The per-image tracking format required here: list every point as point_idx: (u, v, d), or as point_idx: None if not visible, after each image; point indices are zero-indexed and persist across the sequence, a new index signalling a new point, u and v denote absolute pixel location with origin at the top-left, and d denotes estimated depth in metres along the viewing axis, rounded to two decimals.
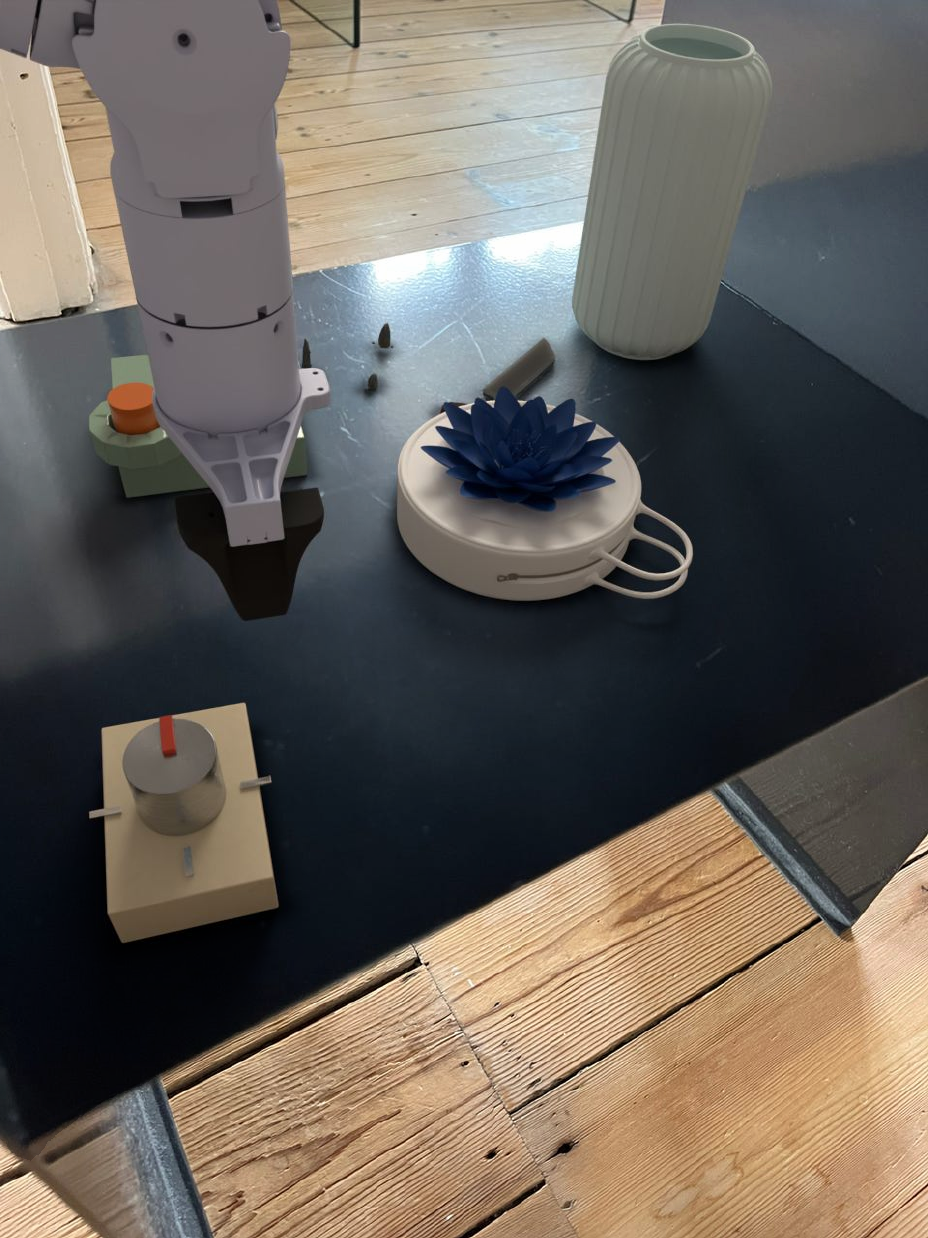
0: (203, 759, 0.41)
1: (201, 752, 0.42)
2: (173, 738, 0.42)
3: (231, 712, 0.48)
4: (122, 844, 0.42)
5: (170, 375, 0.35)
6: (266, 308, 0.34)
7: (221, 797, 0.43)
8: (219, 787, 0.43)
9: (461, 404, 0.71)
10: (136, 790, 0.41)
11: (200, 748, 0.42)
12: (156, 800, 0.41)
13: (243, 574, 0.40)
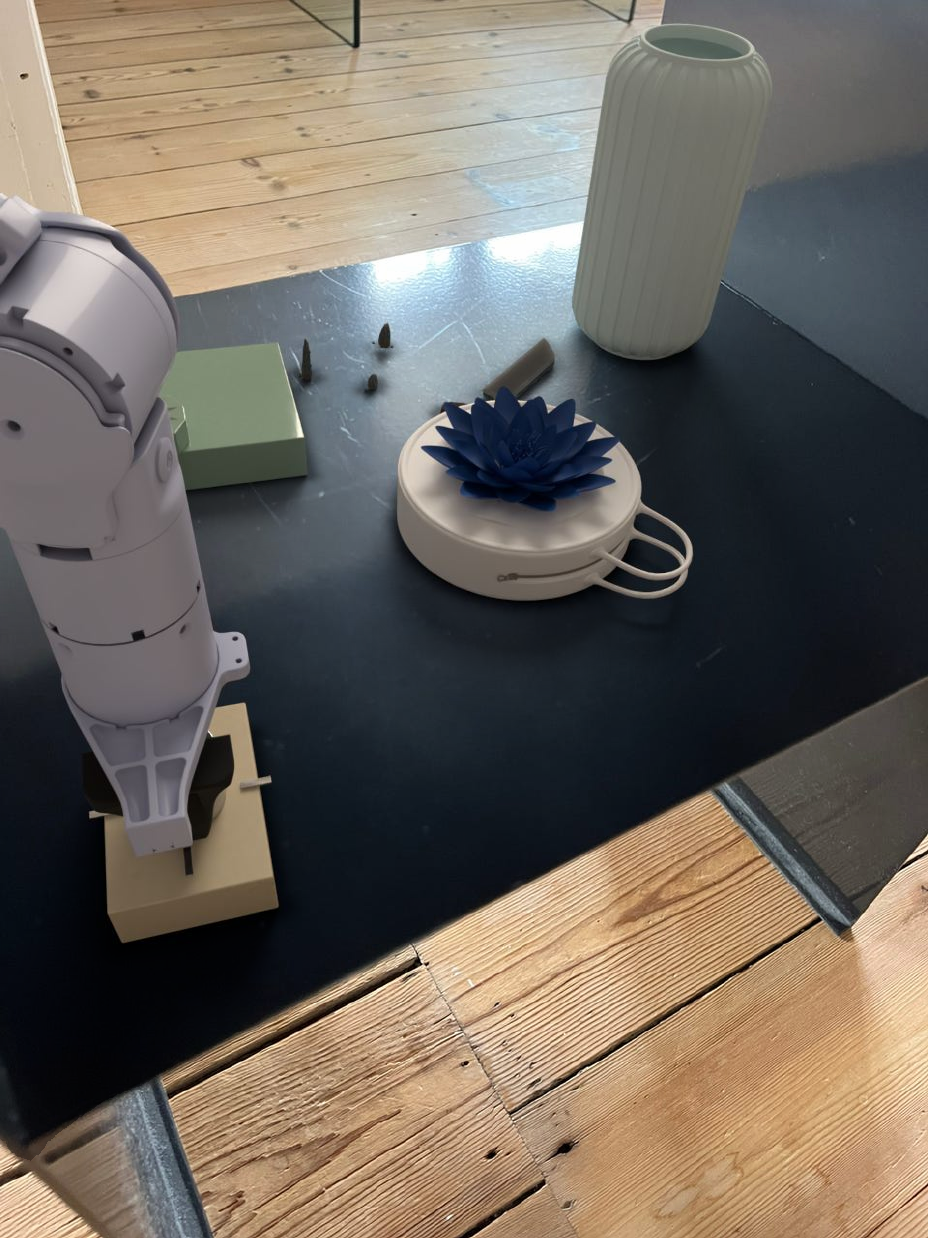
0: None
1: None
2: None
3: (231, 712, 0.48)
4: (122, 844, 0.42)
5: (73, 676, 0.34)
6: (144, 631, 0.32)
7: (221, 797, 0.43)
8: None
9: (461, 404, 0.71)
10: None
11: None
12: None
13: None
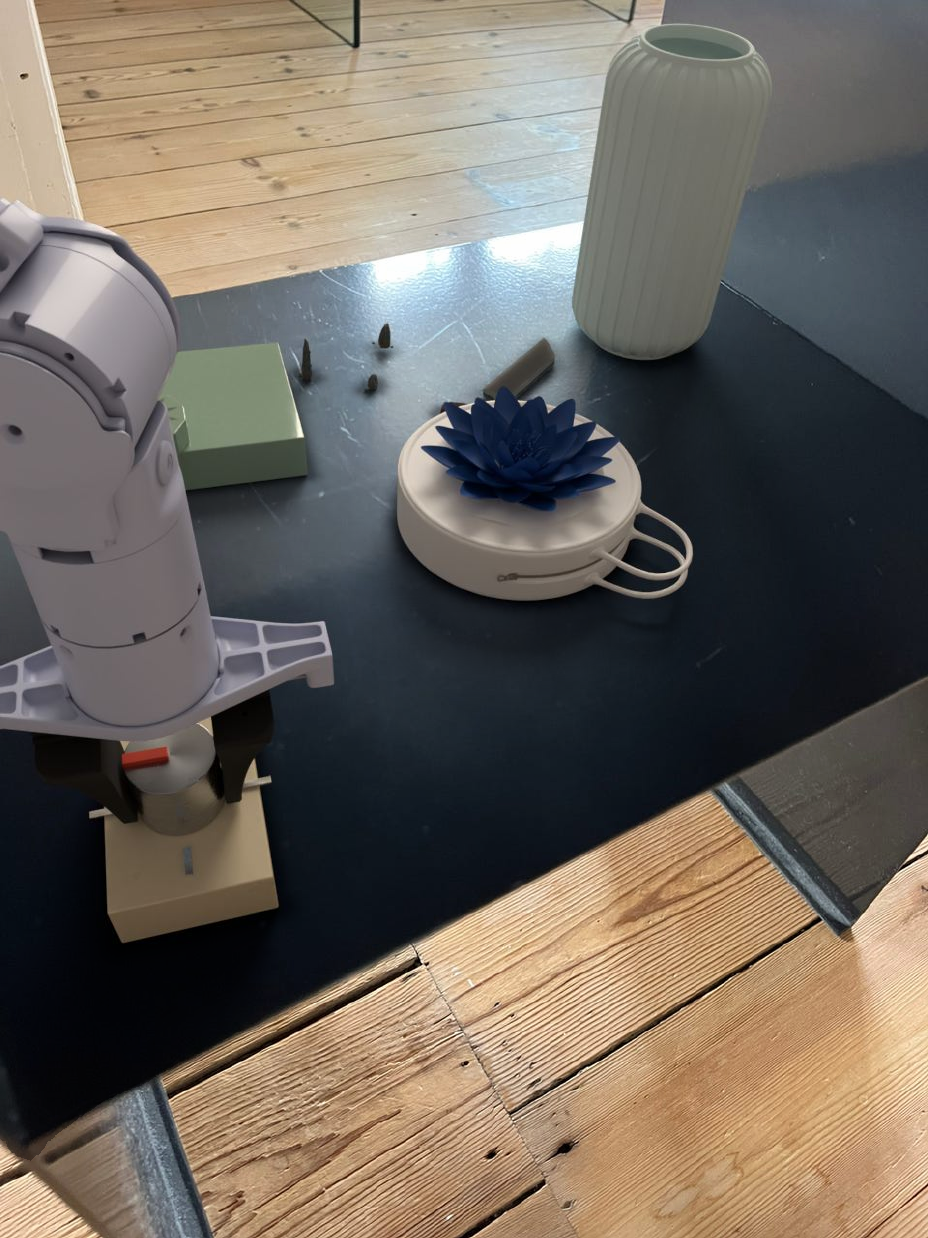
0: None
1: None
2: (153, 749, 0.41)
3: None
4: (122, 844, 0.42)
5: (189, 664, 0.35)
6: (145, 634, 0.32)
7: None
8: None
9: (461, 404, 0.71)
10: (203, 782, 0.41)
11: None
12: (215, 769, 0.42)
13: None
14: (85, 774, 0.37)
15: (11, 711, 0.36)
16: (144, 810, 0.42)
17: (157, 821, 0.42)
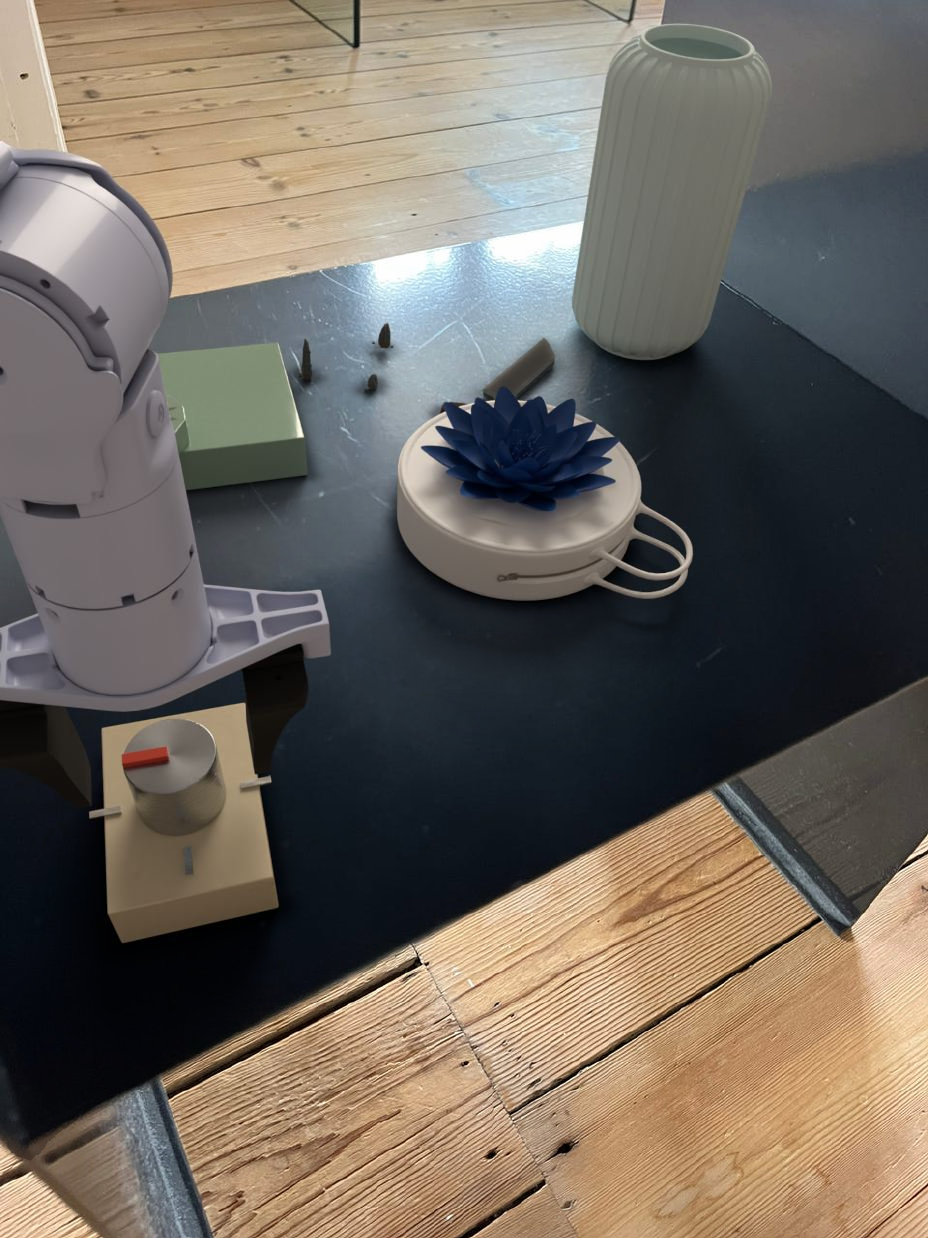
0: (181, 727, 0.43)
1: (172, 729, 0.42)
2: (153, 749, 0.41)
3: (231, 712, 0.48)
4: (122, 844, 0.42)
5: (181, 630, 0.33)
6: (134, 596, 0.31)
7: None
8: None
9: (461, 404, 0.71)
10: (203, 782, 0.41)
11: (167, 730, 0.42)
12: (215, 769, 0.42)
13: None
14: (29, 754, 0.35)
15: None
16: (144, 810, 0.42)
17: (157, 821, 0.42)
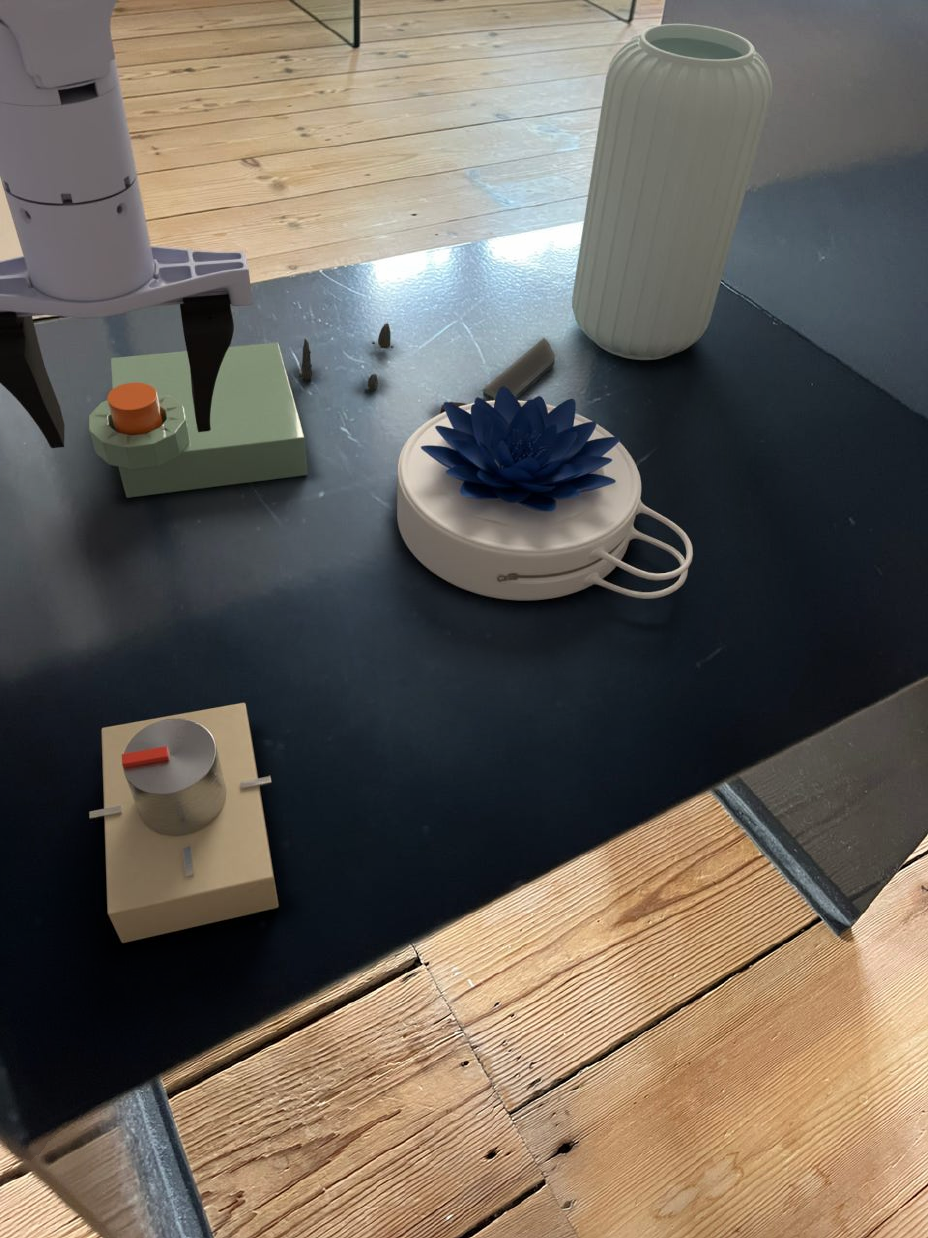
0: (181, 727, 0.43)
1: (172, 729, 0.42)
2: (153, 749, 0.41)
3: (231, 712, 0.48)
4: (122, 844, 0.42)
5: (126, 245, 0.43)
6: (128, 178, 0.42)
7: None
8: None
9: (461, 404, 0.71)
10: (203, 782, 0.41)
11: (167, 730, 0.42)
12: (215, 769, 0.42)
13: None
14: (10, 356, 0.45)
15: None
16: (144, 810, 0.42)
17: (157, 821, 0.42)
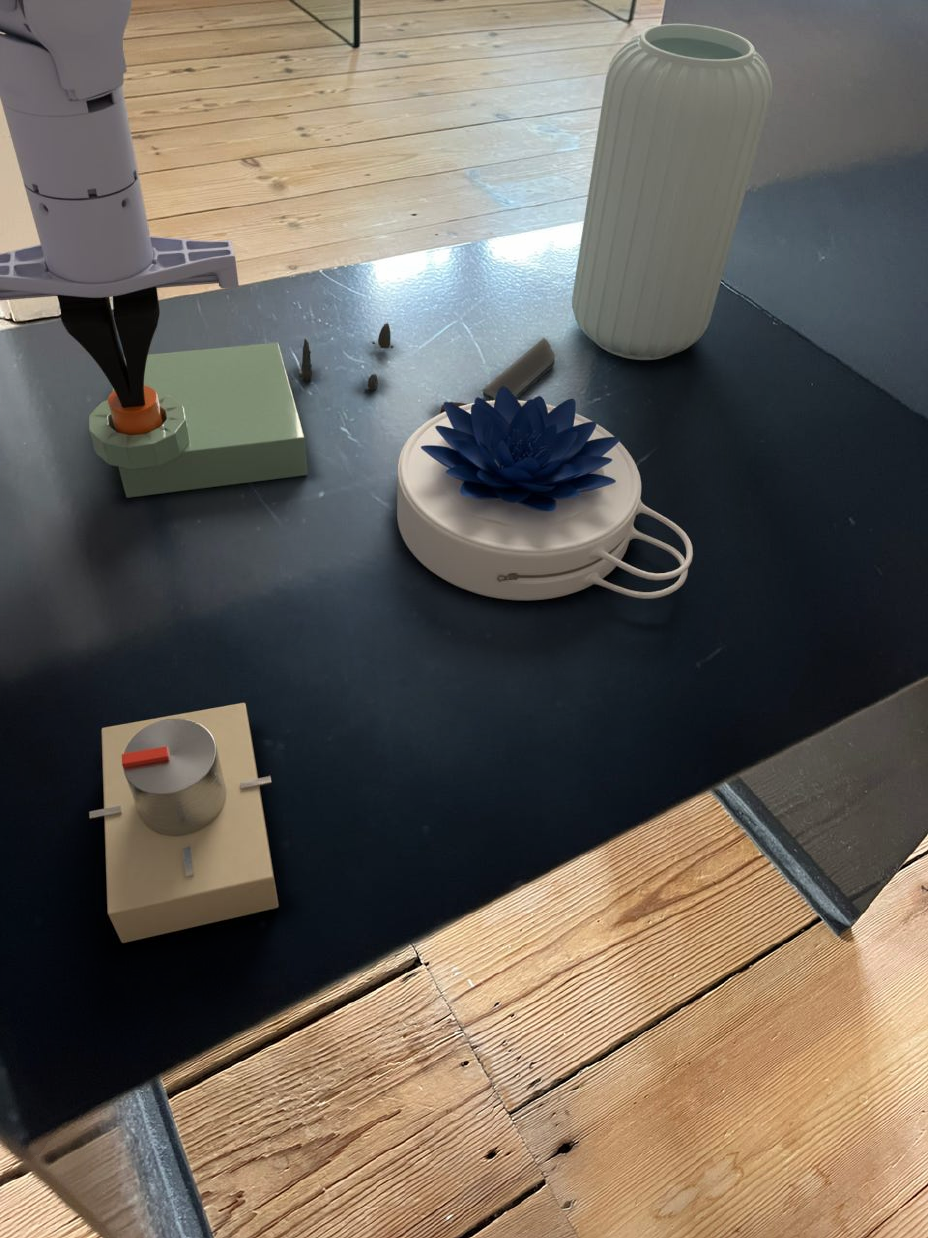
0: (181, 727, 0.43)
1: (172, 729, 0.42)
2: (153, 749, 0.41)
3: (231, 712, 0.48)
4: (122, 844, 0.42)
5: (130, 234, 0.50)
6: (135, 172, 0.49)
7: None
8: None
9: (461, 404, 0.71)
10: (203, 782, 0.41)
11: (167, 730, 0.42)
12: (215, 769, 0.42)
13: None
14: (97, 324, 0.52)
15: None
16: (144, 810, 0.42)
17: (157, 821, 0.42)
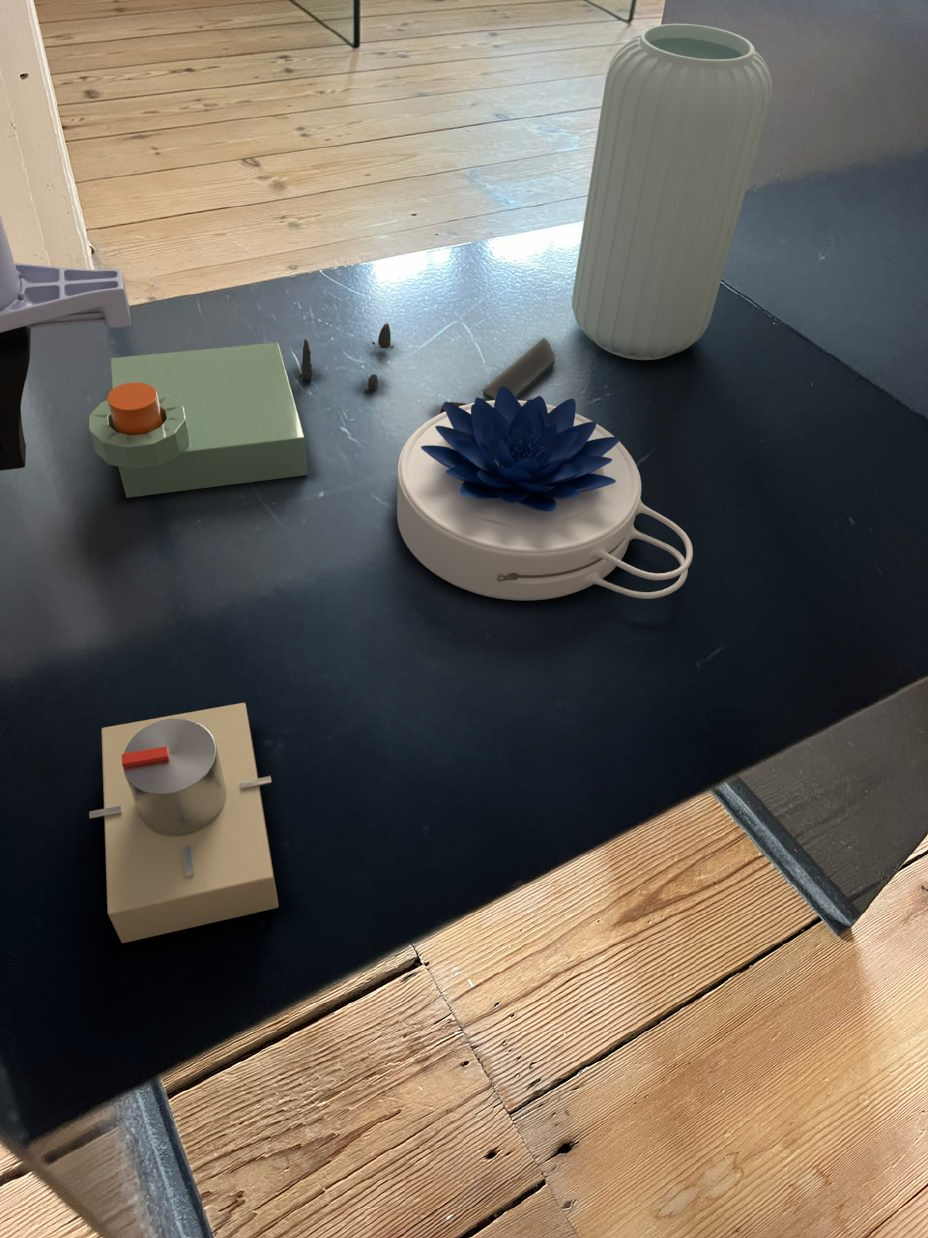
0: (181, 727, 0.43)
1: (172, 729, 0.42)
2: (153, 749, 0.41)
3: (231, 712, 0.48)
4: (122, 844, 0.42)
5: None
6: None
7: None
8: None
9: (461, 404, 0.71)
10: (203, 782, 0.41)
11: (167, 730, 0.42)
12: (215, 769, 0.42)
13: None
14: None
15: None
16: (144, 810, 0.42)
17: (157, 821, 0.42)
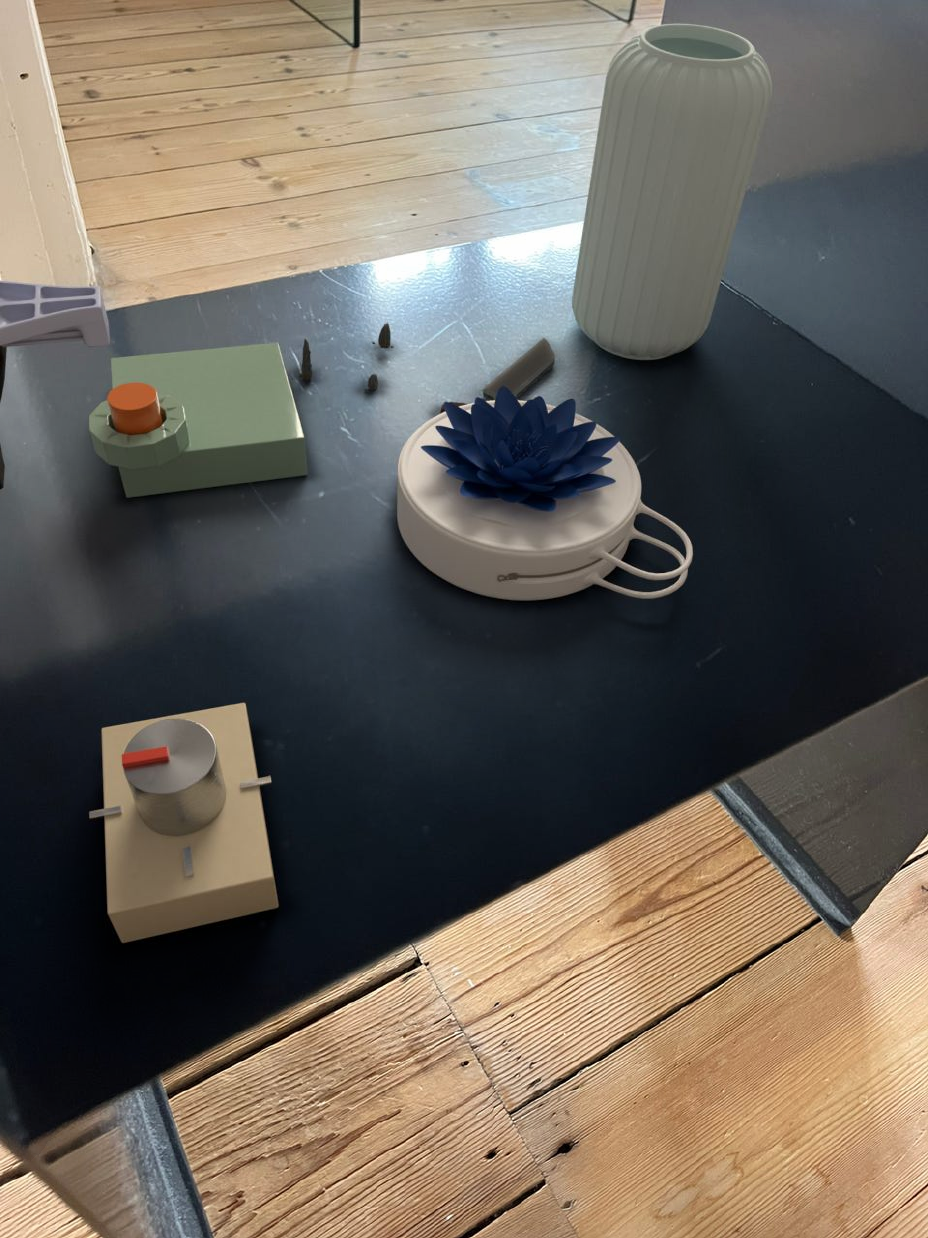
0: (181, 727, 0.43)
1: (172, 729, 0.42)
2: (153, 749, 0.41)
3: (231, 712, 0.48)
4: (122, 844, 0.42)
5: None
6: None
7: None
8: None
9: (461, 404, 0.71)
10: (203, 782, 0.41)
11: (167, 730, 0.42)
12: (215, 769, 0.42)
13: None
14: None
15: None
16: (144, 810, 0.42)
17: (157, 821, 0.42)
